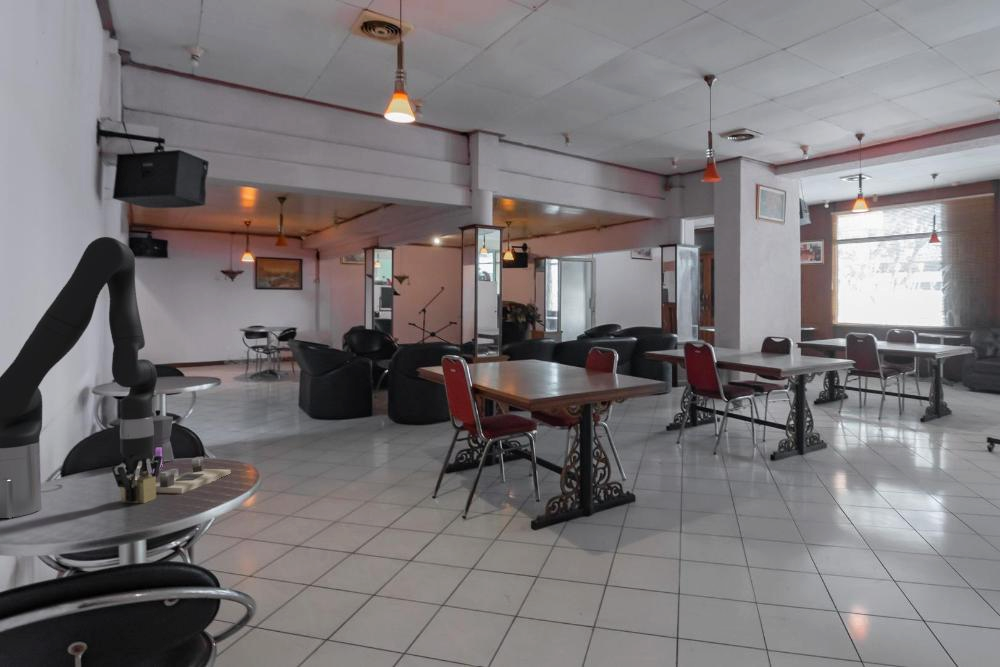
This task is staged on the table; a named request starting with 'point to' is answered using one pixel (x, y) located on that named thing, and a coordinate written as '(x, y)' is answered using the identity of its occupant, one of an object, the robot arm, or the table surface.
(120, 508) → the table surface
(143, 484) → the tan rectangular block
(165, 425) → the coffeepot
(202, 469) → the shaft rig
